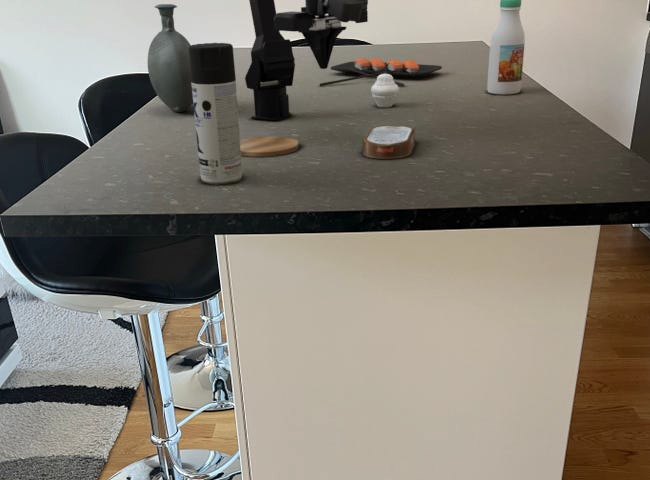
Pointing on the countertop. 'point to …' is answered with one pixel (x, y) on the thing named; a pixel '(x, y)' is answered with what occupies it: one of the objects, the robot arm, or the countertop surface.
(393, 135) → the tin
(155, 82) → the flask
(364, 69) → the sushi plate
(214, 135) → the spray can
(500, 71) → the milk bottle
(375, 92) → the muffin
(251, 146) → the wooden coaster
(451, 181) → the countertop surface
